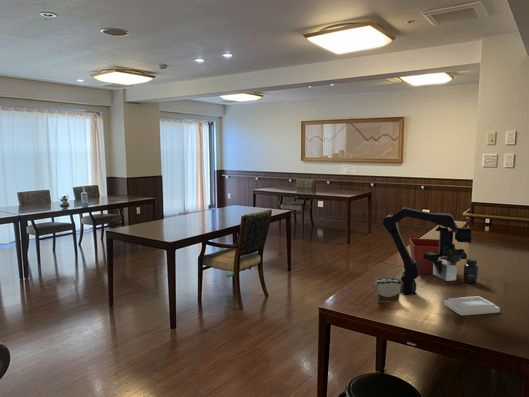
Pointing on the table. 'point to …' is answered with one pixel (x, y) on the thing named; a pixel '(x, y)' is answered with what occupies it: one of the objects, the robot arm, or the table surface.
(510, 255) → the table surface
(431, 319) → the table surface
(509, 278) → the table surface
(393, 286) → the food container
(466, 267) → the supplement bottle
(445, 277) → the block
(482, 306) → the white rectangular tray
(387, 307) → the table surface
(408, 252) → the robot arm
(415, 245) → the plant pot
